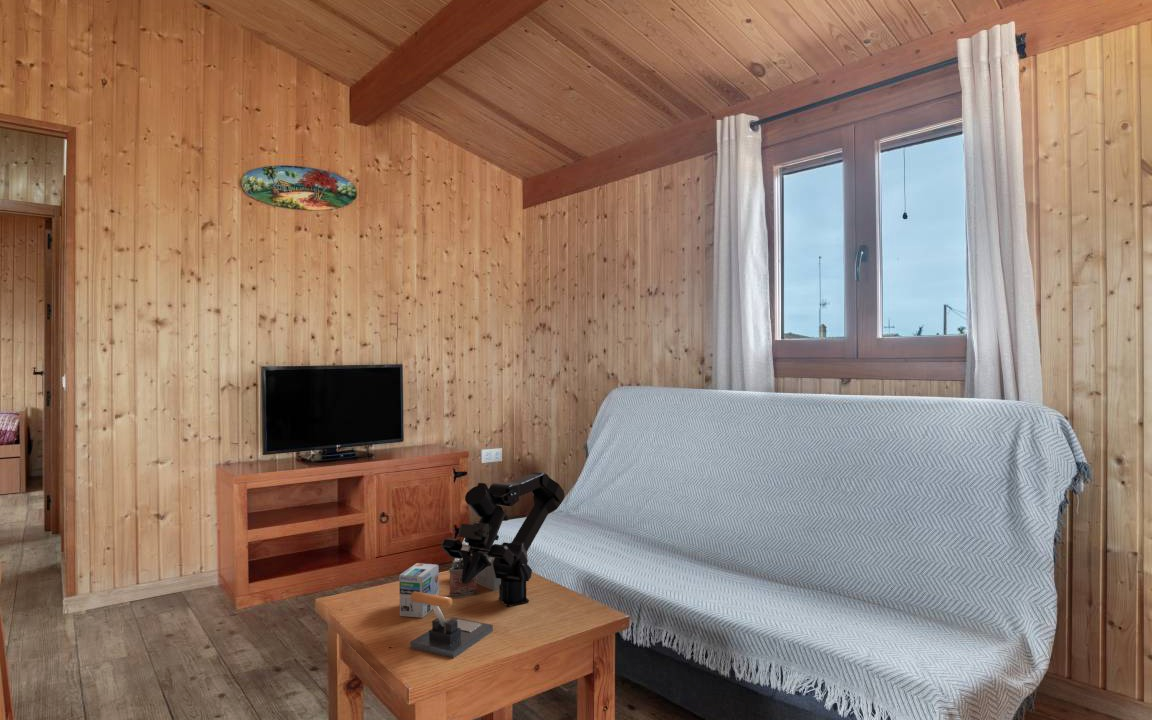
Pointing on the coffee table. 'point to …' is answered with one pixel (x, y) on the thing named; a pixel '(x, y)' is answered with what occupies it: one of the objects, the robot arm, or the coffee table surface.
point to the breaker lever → (433, 603)
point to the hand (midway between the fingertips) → (463, 583)
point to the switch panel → (455, 645)
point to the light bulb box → (418, 588)
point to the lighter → (456, 582)
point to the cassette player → (489, 578)
